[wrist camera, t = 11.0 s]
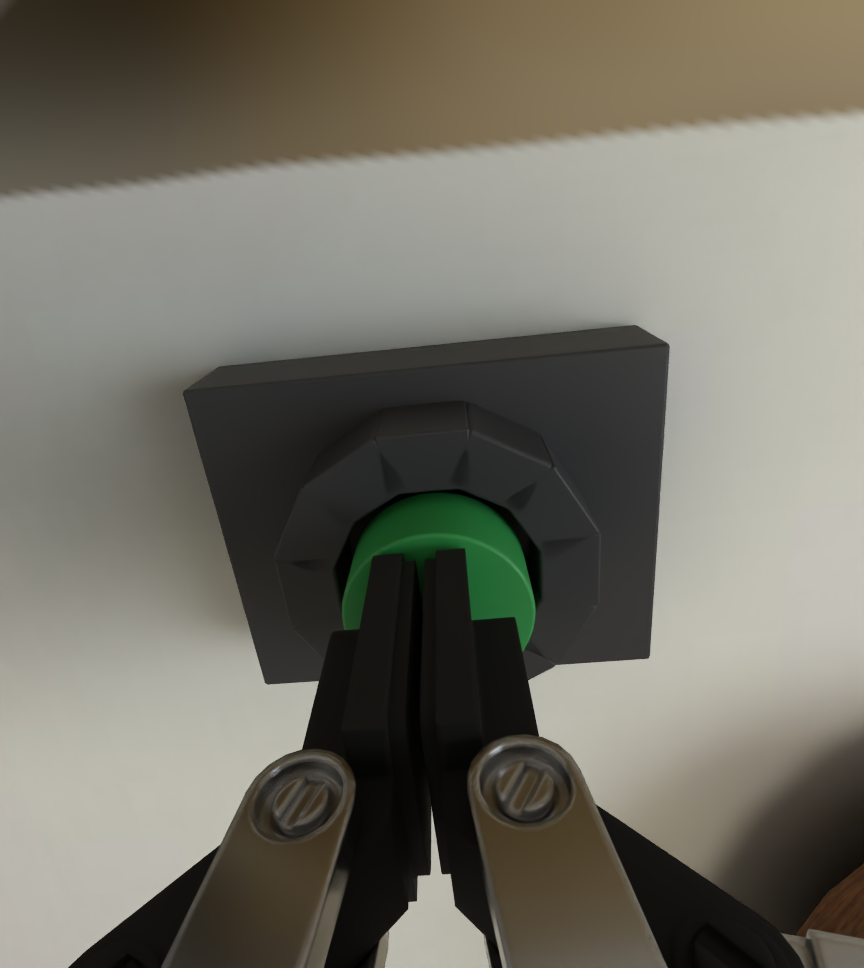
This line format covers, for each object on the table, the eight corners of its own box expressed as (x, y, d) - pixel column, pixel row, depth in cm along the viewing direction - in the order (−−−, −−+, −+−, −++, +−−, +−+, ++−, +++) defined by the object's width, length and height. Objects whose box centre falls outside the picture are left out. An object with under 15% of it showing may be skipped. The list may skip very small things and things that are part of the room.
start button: (366, 641, 13) (357, 698, 12) (340, 498, 12) (325, 543, 10) (527, 629, 13) (538, 686, 12) (521, 483, 12) (533, 526, 10)
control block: (285, 632, 18) (243, 741, 14) (217, 366, 14) (140, 418, 11) (626, 607, 17) (676, 714, 13) (638, 324, 14) (708, 364, 10)
